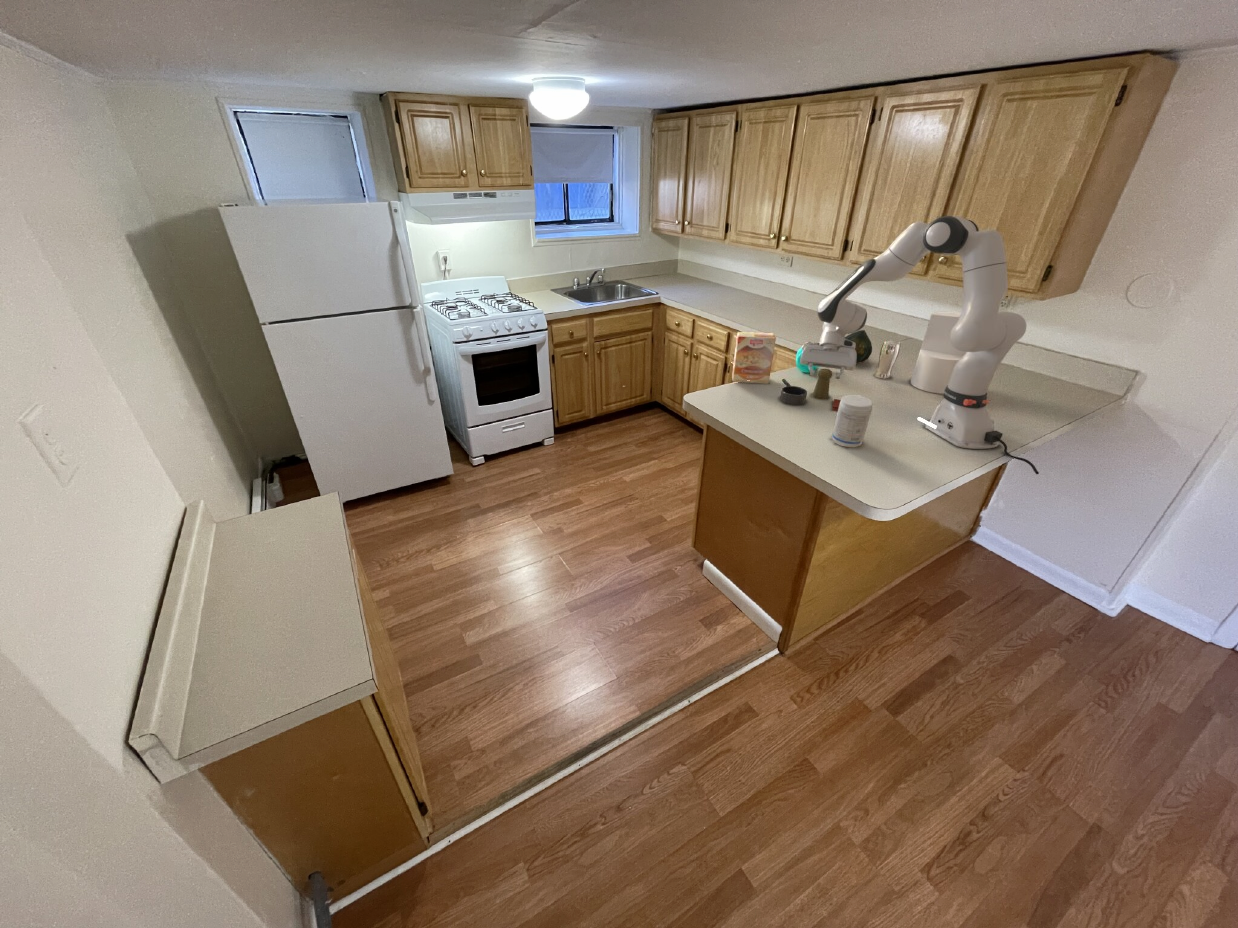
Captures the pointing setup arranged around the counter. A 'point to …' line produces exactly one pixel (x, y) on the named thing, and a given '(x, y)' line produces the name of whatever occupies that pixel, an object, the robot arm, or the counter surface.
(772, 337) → the coffeecake box
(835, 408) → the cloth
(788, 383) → the pan handle
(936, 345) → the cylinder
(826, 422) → the counter surface
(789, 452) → the counter surface
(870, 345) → the squash
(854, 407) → the supplement tub
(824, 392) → the olive tall rounded piece
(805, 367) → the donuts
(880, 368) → the beer glass
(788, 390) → the pan
